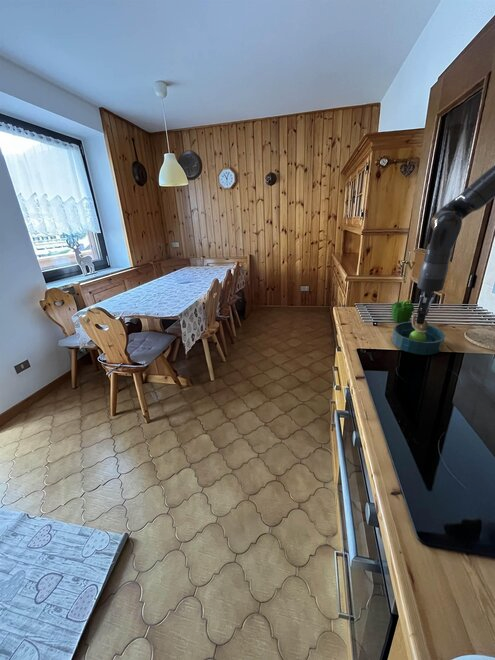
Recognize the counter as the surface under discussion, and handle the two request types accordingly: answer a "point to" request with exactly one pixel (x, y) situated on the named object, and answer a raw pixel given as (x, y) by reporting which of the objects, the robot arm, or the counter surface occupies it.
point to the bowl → (423, 348)
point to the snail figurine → (418, 330)
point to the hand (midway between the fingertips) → (421, 318)
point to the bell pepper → (402, 311)
